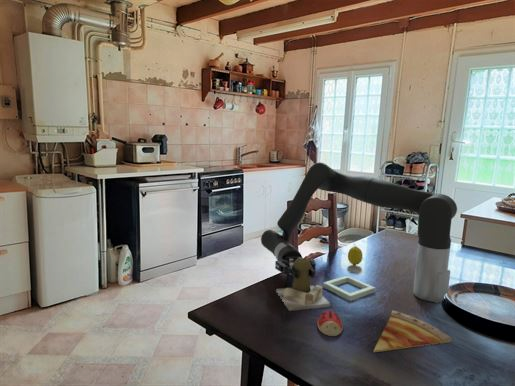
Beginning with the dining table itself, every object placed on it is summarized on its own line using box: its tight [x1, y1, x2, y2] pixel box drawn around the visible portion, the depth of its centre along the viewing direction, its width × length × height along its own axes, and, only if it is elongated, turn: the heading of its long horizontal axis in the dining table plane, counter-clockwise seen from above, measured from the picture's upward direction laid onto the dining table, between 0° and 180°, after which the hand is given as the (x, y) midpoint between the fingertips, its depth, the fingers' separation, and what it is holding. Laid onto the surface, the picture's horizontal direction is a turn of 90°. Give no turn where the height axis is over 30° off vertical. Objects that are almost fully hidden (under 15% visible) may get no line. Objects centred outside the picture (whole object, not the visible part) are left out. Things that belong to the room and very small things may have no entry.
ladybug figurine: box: [317, 310, 344, 337], centre depth 97 cm, size 7×10×4 cm
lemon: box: [347, 245, 363, 266], centre depth 142 cm, size 6×6×8 cm
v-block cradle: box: [275, 284, 331, 312], centre depth 113 cm, size 13×13×4 cm
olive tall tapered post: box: [291, 257, 311, 293], centre depth 113 cm, size 6×6×11 cm
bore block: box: [322, 275, 376, 302], centre depth 121 cm, size 12×12×2 cm
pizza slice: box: [373, 309, 453, 353], centre depth 97 cm, size 16×22×2 cm
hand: (305, 274), depth 110 cm, fingers closed on olive tall tapered post, 4 cm apart
